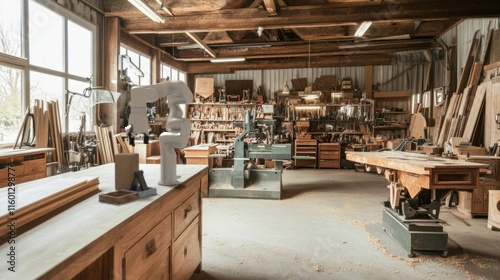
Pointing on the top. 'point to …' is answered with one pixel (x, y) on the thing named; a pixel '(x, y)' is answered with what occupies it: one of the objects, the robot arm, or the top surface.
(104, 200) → the walnut bin
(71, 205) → the top surface
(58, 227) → the top surface
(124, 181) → the block
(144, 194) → the slate tray
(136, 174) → the black angular piece
